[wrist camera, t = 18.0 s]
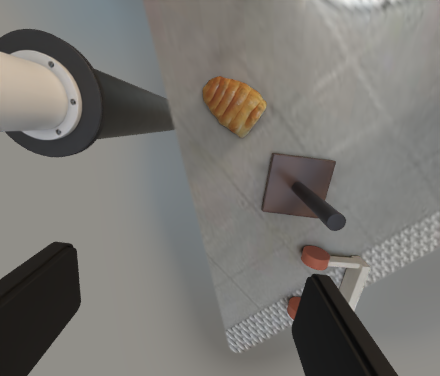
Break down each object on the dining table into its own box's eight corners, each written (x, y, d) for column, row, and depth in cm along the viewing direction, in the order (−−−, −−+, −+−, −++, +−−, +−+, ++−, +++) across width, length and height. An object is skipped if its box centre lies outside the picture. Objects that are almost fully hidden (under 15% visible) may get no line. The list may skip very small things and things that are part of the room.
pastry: (195, 106, 33) (191, 103, 29) (218, 65, 31) (217, 57, 27) (244, 140, 34) (246, 142, 30) (269, 102, 32) (275, 100, 28)
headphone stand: (261, 208, 37) (280, 256, 24) (272, 152, 34) (300, 171, 21) (317, 215, 37) (367, 267, 24) (332, 160, 34) (399, 183, 21)
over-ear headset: (291, 323, 39) (351, 326, 40) (310, 259, 35) (376, 264, 36) (284, 303, 43) (337, 307, 44) (299, 244, 39) (358, 249, 40)
